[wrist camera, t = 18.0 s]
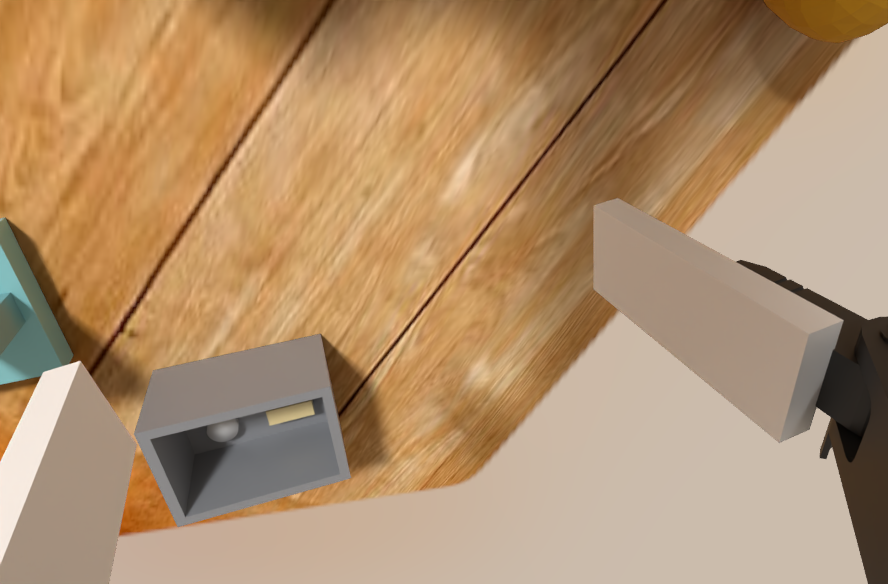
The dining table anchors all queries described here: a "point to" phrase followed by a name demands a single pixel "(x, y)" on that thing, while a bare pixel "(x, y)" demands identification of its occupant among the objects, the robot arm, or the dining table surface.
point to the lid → (25, 318)
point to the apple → (832, 17)
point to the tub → (242, 429)
